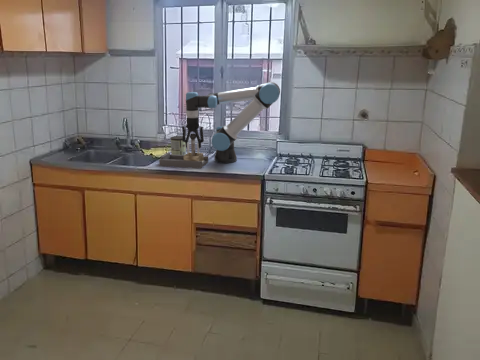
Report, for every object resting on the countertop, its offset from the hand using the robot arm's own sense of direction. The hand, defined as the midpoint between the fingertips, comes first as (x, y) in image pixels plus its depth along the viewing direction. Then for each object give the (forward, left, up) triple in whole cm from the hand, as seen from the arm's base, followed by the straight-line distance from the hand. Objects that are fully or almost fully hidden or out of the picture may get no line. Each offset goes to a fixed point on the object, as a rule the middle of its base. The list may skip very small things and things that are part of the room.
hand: (193, 152), depth 290 cm
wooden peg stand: (0, 0, -6) cm, 6 cm away
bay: (+7, 0, -8) cm, 10 cm away
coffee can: (+17, -17, -8) cm, 25 cm away
